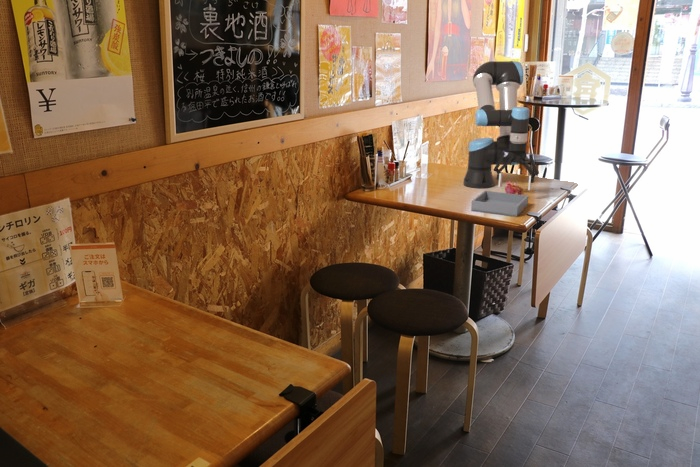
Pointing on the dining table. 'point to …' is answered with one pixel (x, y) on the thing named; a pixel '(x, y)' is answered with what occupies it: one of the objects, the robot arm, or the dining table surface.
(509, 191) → the flower
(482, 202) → the bin
